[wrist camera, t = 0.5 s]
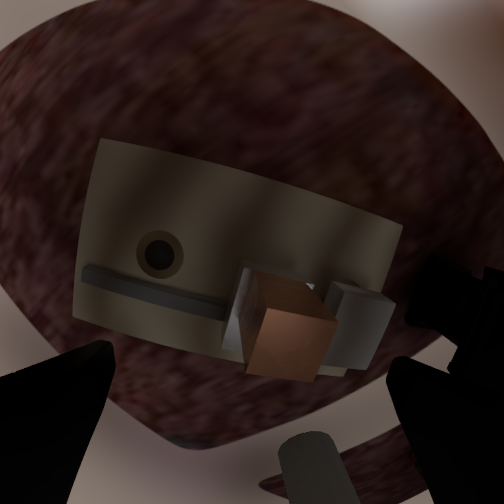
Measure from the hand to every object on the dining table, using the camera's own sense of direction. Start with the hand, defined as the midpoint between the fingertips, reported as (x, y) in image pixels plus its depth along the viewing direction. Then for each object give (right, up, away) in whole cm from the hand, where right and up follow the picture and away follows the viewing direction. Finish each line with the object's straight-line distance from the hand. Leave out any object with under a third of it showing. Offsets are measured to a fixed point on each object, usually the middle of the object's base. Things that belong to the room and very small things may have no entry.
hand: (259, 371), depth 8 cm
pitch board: (-2, +2, +12) cm, 13 cm away
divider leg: (0, +1, +11) cm, 11 cm away
